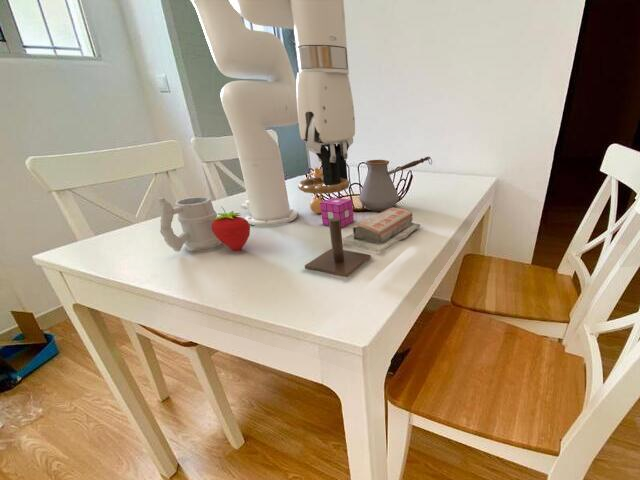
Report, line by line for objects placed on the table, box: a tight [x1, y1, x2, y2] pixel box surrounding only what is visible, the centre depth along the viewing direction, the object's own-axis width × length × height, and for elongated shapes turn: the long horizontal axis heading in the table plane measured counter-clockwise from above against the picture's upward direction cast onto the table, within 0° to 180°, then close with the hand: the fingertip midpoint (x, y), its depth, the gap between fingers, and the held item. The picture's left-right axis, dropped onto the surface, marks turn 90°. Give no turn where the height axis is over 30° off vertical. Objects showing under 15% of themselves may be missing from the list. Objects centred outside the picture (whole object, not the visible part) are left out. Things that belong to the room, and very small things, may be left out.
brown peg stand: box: [304, 218, 372, 278], centre depth 64 cm, size 9×9×9 cm
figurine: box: [305, 166, 324, 214], centre depth 93 cm, size 8×6×12 cm
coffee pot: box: [358, 156, 433, 212], centre depth 95 cm, size 21×12×15 cm, turn 69°
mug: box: [157, 196, 223, 253], centre depth 70 cm, size 8×12×12 cm, turn 158°
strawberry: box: [212, 205, 251, 252], centre depth 69 cm, size 6×8×10 cm
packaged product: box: [342, 207, 421, 253], centre depth 78 cm, size 18×5×10 cm
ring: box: [297, 176, 350, 195], centre depth 58 cm, size 8×8×1 cm
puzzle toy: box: [320, 196, 355, 229], centre depth 86 cm, size 6×6×6 cm
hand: (336, 183), depth 61 cm, fingers closed on ring, 1 cm apart
